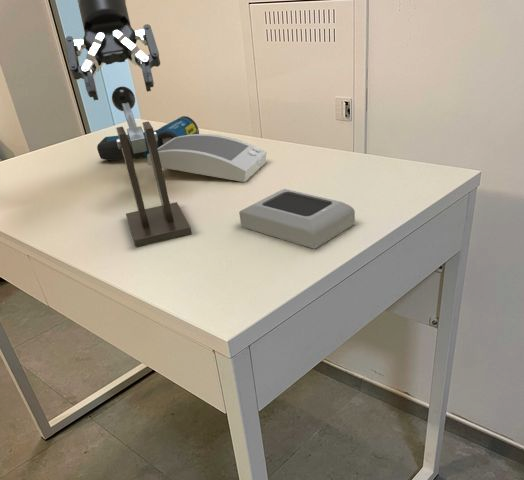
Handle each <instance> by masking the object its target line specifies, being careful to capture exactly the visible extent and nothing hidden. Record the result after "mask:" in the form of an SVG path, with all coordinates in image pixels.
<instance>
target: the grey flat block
mask: <svg viewBox="0 0 524 480" xmlns="http://www.w3.org/2000/svg"><path fill="white" fill-rule="evenodd" d="M238 213H239V220H240V226H241V228H244V229H247V230H250V231H254V232H257V233H260V234H264V235H267V236H271V237H274V238H276V239H280V240H283V241H286V242H287V241H288V242H290V243H293V244H297V245H300V246H304V247H307V248H309V249H313V250H316V249H317V248H319V247H321V246H322V245H324V244H325V243H328V241H330V240H332V239H333V238H335V237H337V236H338V235H340V234H342V233H343V232H344V231H346V230H348V229H349V228H351V227H353V226H354V225H356V211H355V209H354V208H353V207H352V206H351V205H349V204H347V203H345V202H343V201H339V200H336V199H331V198H327V197H322V196H319V195H314V194H310V193H304V192H301V191H295V190H291V189H286V188H283V189H280V190H278V191H277V192H273V194H270V195H269V196H266V197H265V198H262V199H260V200H259V201H257V202H254V203H253V204H251V205H249V206H247V207H245V208H242V209H241V210H240V211H239V212H238Z"/></svg>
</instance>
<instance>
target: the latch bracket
mask: <svg viewBox="0 0 524 480" xmlns="http://www.w3.org/2000/svg"><path fill="white" fill-rule="evenodd" d="M142 129H143V132H145V136H146V141H147V145H148V149H149V153H150V158H151V162H152V166H151V167H152V170H153V174H154V178H155V179H154V180H155V184H156V186H157V187H156V188H157V191H158V196H159V201H160V204H161V205H158V206H157V205H156V206H153V207H148V208H145V203H144V199H143V196H142V192H141V188H140V184H139V179H138V176H137V171H136V168H135V164H134V159H132V156H131V152H130V148H129V144H128V140H127V136H126V135H127V132H126V130H125V128H124V126H118V127H116V133H117V136H118V137H119V139H116V141H117V145H118V148H119V149H121V148H122V152H123V156H124V159H123V161H124V163H125V167H126V170H127V175H128V178H129V182H130V187H131V189H132V195H133V197H134V201H135V205H136V209H137V210H135V211H130V212H126V213H125V217H126V220H127V223H128V226H129V229H130V233H131V236H132V239H133V240H132V241H133V243H134V246H135V247H136V248H138V247H142V246H146V245H150V244H156V243H159V242H163V241H167V240H171V239H176V238H181V237H185V236H188V235H189V236H190V235H192V234H193V233H192V228H191V226H190V224H189V222H188V220H187V218H186V216H185V214H184V212H183V211H182V209H181V207H180V206H179V204H178V202H177V201H175V202H170V198H169V194H168V189H167V185H166V180H165V176H164V171H163V168H162V166H161V162H160V157H159V153H158V148H157V144H156V141H158V137H157V133H156V131H155V130H154V128H153V125H152V124H151V123H150V121H148V120H147V121H143V122H142Z"/></svg>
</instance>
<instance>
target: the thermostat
mask: <svg viewBox="0 0 524 480" xmlns="http://www.w3.org/2000/svg"><path fill="white" fill-rule="evenodd" d="M158 153H159V157H160V162H161V166H162V169H167V170H174V171H178V172H185V173H190V174H196V175H201V176H207V177H212V178H220V179H225V180H230V181H235V182H241V183H246V182H247V181H248V180H249V179H250V178H251V177H253V175H254V174H255V173H256V172H257V171H259V170H261V168H262V167H263V166H264V165H265V164H266V163H267V151H266V150H264V149H261V148H260V147H258V146H256V145H254V144H251V143H248V142H246V141H243V140H240V139H237V138H233V137H230V136H226V135H219V134H211V133H199V134H192V135H184V136H179V137H175V138H173V139H171V140H170V141H168V142H167V143H165V144H163V145H162V146H160V147H159V148H158ZM147 156H148V158H147V166H151V167H153V166H152V162H151V158H150V153H149V154H148V155H147Z"/></svg>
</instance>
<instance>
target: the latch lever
mask: <svg viewBox="0 0 524 480" xmlns="http://www.w3.org/2000/svg"><path fill="white" fill-rule="evenodd" d="M111 102H112V104H113V106H114V107H115V108H116V109H117V110H119V111H121V112H123V113H124V117H125V120H126V122H127V126H128V128H126V134H128V137H129V142H130V145H131V148H132V151H133V154H135V153H140V152H145V151H147V145H146V140H145V136H144V133H143V132H144V129H143V126H141V125H140V126H138V125H137V123H136V120H135V116H134V113H133V111H132V109H133V108H134V107H135V104H136V97H135V94H134V92H133V91H132V90H131V89H130V88H129V87H127V86H118V87H116V88H115V89H114V90H113V91H112V94H111Z"/></svg>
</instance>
